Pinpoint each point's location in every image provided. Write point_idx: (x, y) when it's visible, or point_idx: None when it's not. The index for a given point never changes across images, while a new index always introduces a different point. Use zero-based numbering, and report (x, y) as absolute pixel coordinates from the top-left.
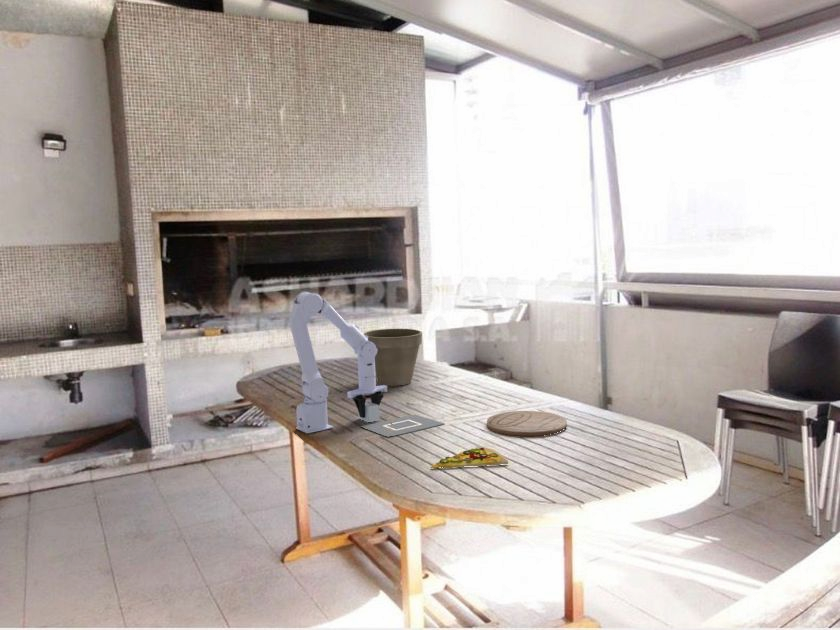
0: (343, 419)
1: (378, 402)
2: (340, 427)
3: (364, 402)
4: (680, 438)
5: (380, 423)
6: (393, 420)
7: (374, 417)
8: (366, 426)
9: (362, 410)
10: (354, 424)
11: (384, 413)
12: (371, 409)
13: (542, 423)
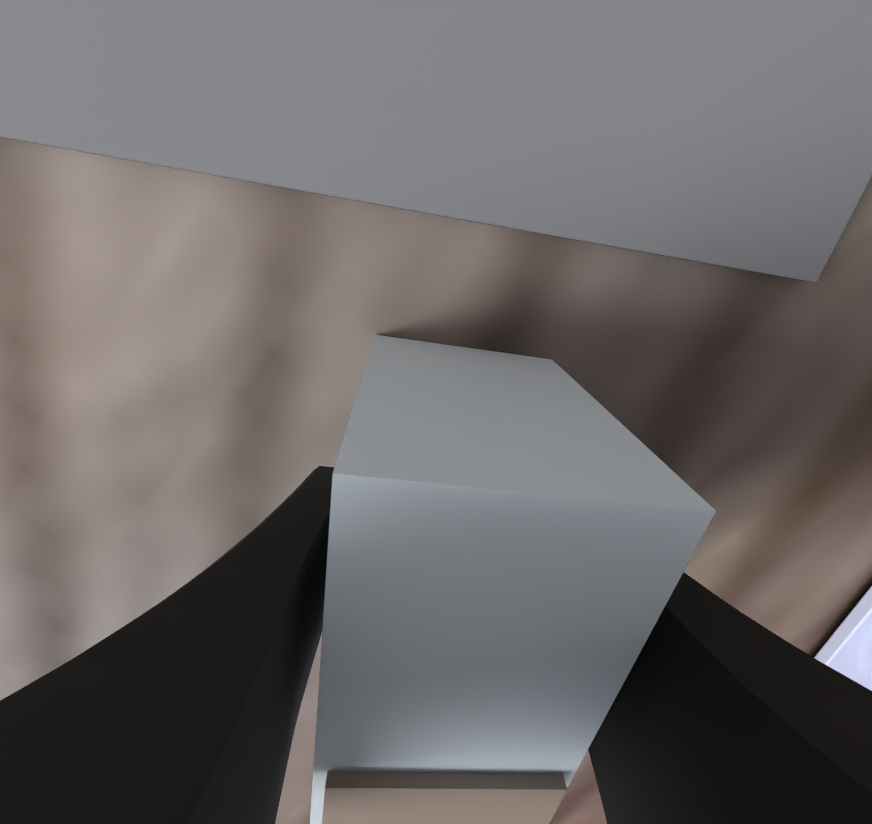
0: None
1: (219, 626)
2: (866, 477)
3: (833, 739)
4: None
5: (523, 133)
6: (209, 77)
7: (470, 370)
8: (791, 194)
9: None
10: (695, 456)
11: (97, 558)
12: (587, 451)
13: None
